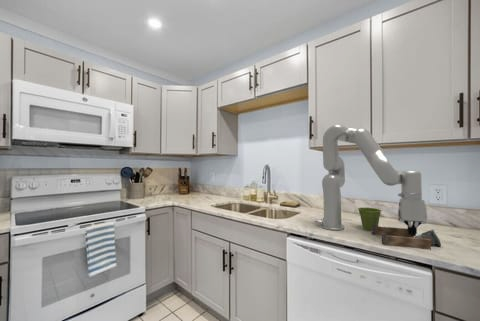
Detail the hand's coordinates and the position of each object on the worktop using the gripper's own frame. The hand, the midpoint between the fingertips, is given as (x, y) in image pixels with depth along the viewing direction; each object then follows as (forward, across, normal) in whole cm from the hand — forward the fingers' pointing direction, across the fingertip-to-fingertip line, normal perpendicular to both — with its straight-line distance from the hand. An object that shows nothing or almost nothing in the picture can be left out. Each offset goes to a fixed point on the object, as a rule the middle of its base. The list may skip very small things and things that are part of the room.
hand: (412, 235), depth 101 cm
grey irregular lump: (+4, +4, 0) cm, 6 cm away
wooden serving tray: (+3, -6, 0) cm, 6 cm away
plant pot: (+3, -14, +17) cm, 22 cm away
